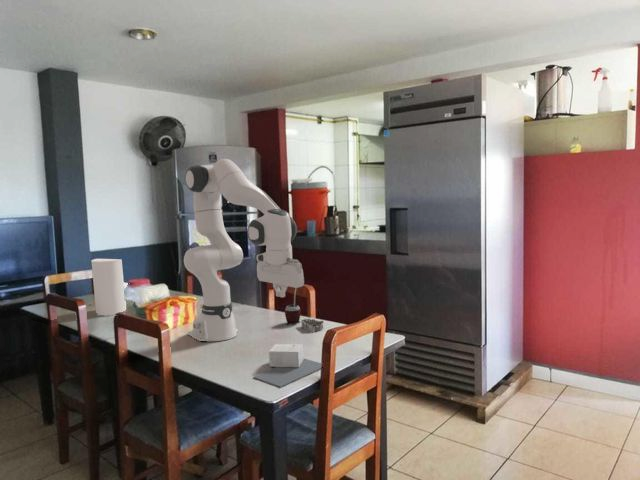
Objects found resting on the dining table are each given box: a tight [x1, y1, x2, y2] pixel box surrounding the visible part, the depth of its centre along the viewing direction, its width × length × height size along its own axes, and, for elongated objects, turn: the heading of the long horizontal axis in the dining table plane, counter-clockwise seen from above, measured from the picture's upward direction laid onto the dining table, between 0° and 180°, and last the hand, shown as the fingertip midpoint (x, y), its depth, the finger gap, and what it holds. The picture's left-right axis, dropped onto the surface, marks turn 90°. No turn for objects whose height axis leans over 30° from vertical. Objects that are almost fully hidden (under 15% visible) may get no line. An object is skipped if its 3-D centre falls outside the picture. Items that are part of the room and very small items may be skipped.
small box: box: [268, 343, 305, 368], centre depth 170 cm, size 8×6×10 cm
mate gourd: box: [284, 288, 302, 326], centre depth 221 cm, size 8×8×15 cm
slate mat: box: [252, 358, 322, 388], centre depth 164 cm, size 13×22×1 cm, turn 138°
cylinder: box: [90, 258, 129, 314], centre depth 256 cm, size 17×17×28 cm
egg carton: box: [300, 318, 325, 333], centre depth 212 cm, size 11×8×4 cm
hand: (280, 296), depth 169 cm, fingers closed
